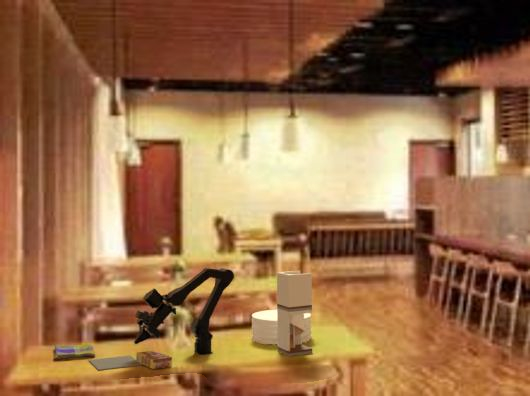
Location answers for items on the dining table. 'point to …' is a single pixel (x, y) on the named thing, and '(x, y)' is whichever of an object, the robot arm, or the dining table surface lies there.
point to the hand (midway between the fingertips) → (134, 343)
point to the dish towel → (74, 352)
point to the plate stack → (274, 327)
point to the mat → (114, 362)
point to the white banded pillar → (293, 310)
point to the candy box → (154, 359)
